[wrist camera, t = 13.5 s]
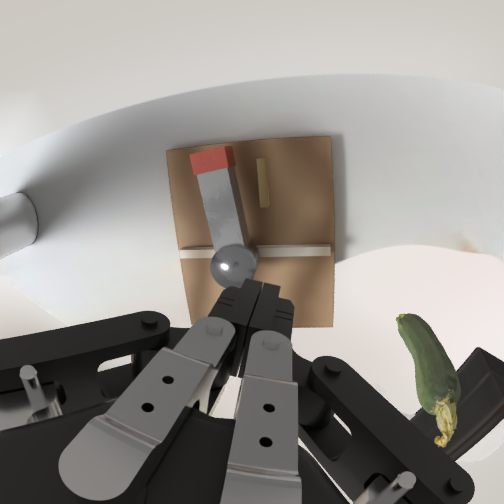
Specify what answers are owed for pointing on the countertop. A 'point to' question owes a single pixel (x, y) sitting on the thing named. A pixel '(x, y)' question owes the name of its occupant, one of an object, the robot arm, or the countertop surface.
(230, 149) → the bar
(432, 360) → the vegetable
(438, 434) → the barrier
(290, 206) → the door board
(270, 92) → the countertop surface
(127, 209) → the countertop surface
